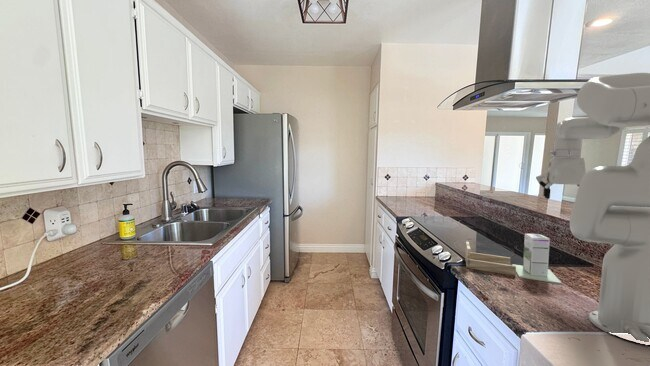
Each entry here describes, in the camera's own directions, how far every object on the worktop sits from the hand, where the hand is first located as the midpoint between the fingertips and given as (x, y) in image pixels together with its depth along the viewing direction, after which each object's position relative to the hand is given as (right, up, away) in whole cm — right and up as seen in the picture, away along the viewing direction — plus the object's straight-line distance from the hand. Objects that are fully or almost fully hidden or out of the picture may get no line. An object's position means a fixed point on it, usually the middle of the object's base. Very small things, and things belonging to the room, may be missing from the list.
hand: (563, 199), depth 97 cm
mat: (-12, -29, -1) cm, 31 cm away
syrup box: (-12, -28, -1) cm, 31 cm away
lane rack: (-25, -28, +6) cm, 38 cm away
